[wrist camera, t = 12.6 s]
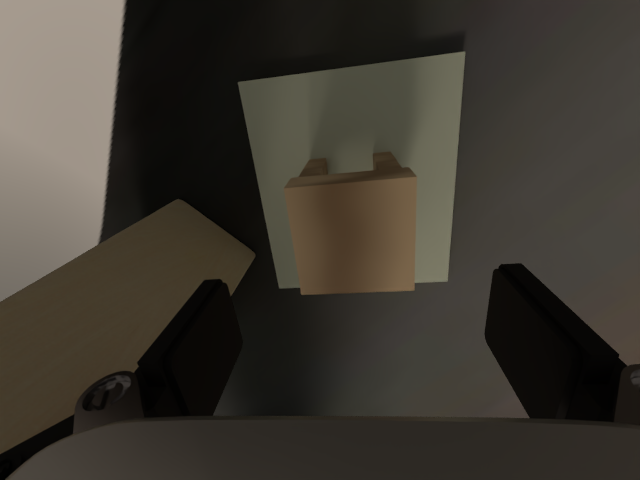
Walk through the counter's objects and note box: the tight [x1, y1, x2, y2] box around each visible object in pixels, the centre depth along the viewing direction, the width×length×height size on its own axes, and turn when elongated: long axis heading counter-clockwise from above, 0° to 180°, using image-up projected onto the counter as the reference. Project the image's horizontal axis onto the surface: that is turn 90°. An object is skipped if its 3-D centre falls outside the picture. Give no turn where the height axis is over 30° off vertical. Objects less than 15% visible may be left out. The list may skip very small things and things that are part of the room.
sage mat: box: [238, 52, 465, 289], centre depth 22 cm, size 16×14×1 cm
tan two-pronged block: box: [284, 151, 417, 295], centre depth 19 cm, size 6×6×8 cm
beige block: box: [0, 199, 255, 454], centre depth 17 cm, size 8×7×21 cm
